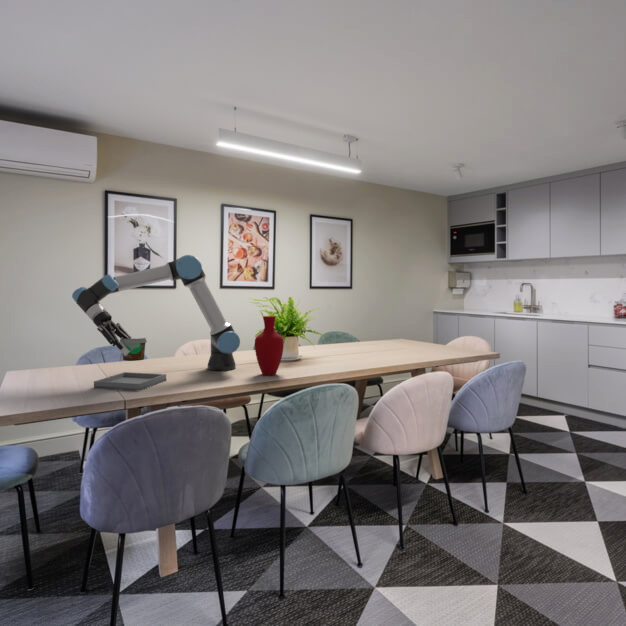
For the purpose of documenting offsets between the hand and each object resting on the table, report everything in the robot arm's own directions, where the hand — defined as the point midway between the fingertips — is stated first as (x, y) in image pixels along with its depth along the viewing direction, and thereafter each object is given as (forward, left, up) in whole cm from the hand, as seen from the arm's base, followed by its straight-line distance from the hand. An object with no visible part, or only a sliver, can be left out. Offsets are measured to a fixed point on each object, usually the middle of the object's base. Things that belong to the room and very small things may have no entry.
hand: (132, 352), depth 200 cm
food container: (+1, 0, -4) cm, 4 cm away
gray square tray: (+1, 0, -14) cm, 14 cm away
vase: (-53, -37, -15) cm, 67 cm away
